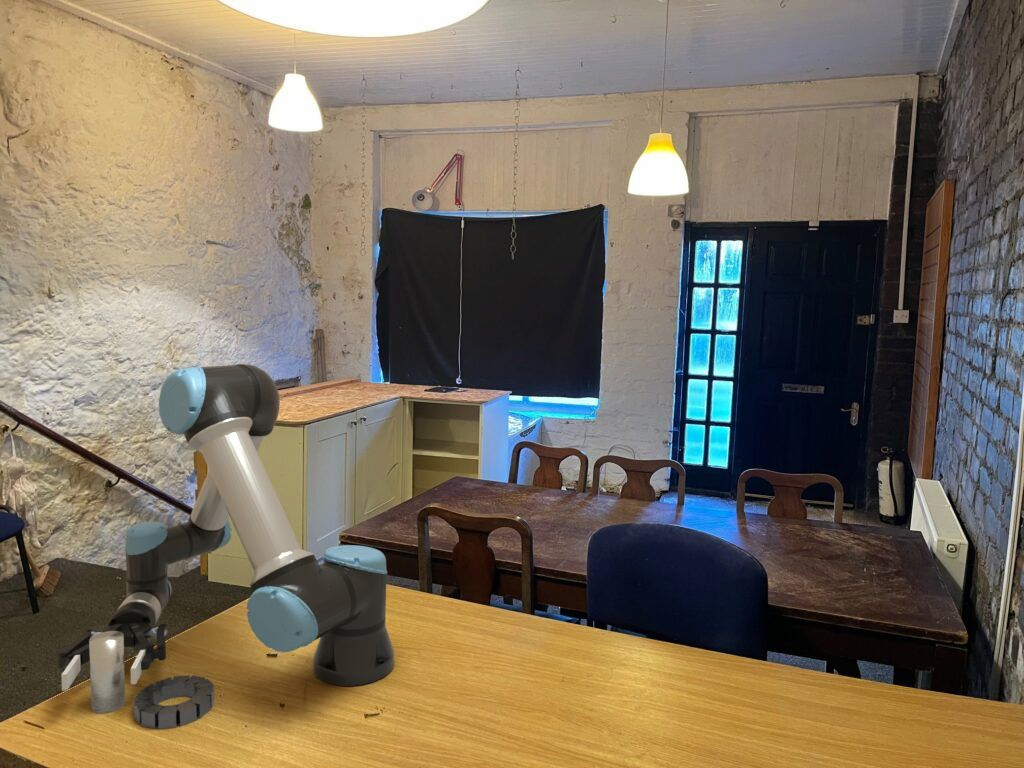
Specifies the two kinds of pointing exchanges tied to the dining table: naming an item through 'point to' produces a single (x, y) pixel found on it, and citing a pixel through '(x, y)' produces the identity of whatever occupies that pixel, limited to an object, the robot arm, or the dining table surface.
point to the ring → (172, 715)
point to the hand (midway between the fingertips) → (99, 679)
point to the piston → (107, 671)
